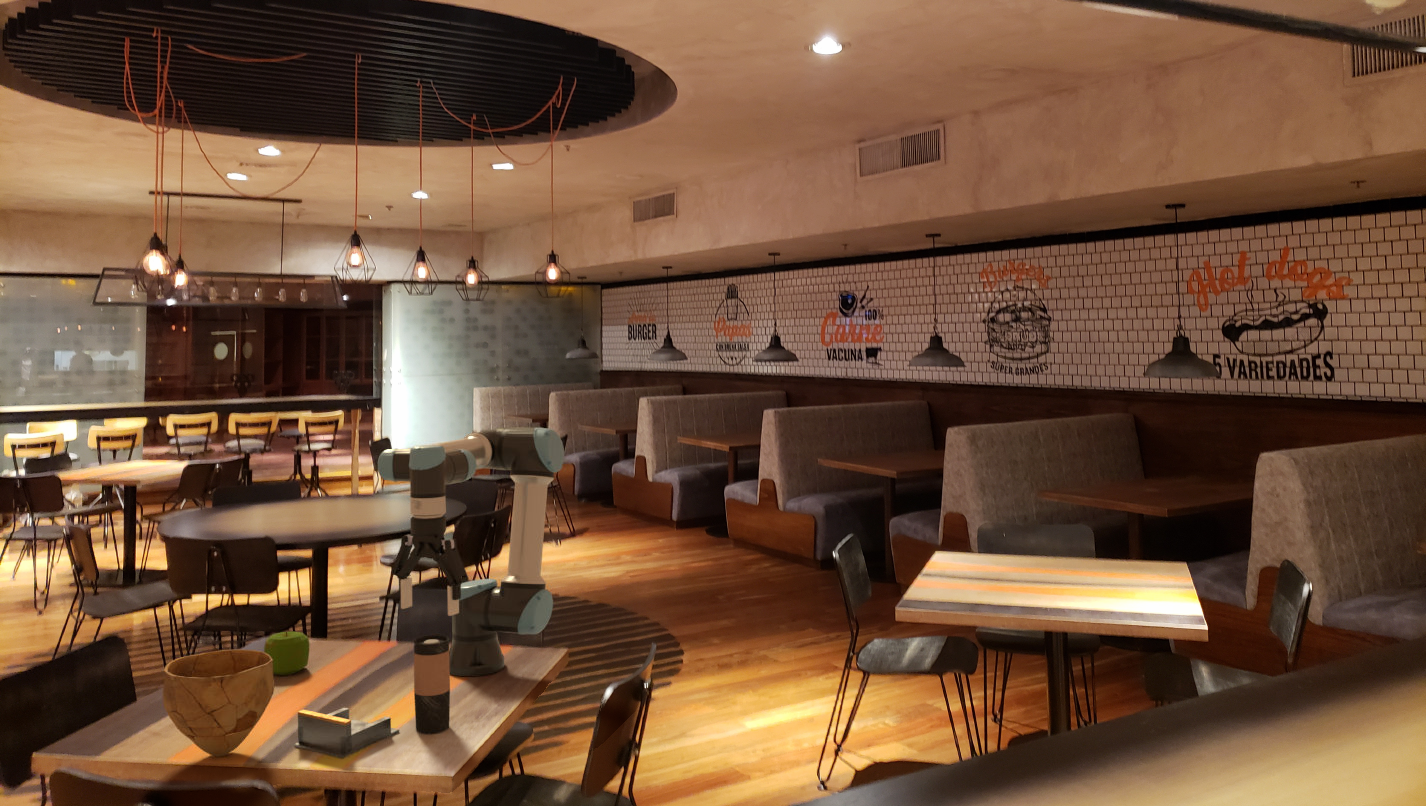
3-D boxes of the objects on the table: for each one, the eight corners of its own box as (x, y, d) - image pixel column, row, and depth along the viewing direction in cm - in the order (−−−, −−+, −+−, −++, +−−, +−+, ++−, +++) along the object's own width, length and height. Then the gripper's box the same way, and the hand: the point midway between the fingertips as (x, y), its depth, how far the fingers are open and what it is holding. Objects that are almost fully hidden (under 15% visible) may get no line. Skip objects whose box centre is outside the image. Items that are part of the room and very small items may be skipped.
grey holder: (353, 721, 221) (352, 690, 221) (399, 732, 215) (398, 700, 215) (294, 746, 207) (293, 713, 207) (342, 758, 201) (341, 724, 200)
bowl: (219, 732, 215) (217, 642, 214) (296, 742, 209) (294, 650, 209) (139, 769, 195) (137, 671, 195) (221, 782, 190) (219, 680, 189)
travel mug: (457, 724, 220) (456, 636, 219) (437, 736, 212) (435, 645, 212) (428, 720, 222) (427, 633, 221) (407, 732, 215) (406, 642, 214)
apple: (318, 669, 259) (317, 628, 259) (281, 680, 250) (280, 638, 250) (292, 662, 265) (292, 622, 265) (256, 673, 256) (255, 632, 256)
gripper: (373, 514, 217) (375, 608, 218) (460, 522, 206) (461, 621, 207) (398, 509, 224) (400, 600, 225) (483, 516, 213) (485, 613, 214)
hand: (429, 610), depth 216 cm, fingers open, 13 cm apart
